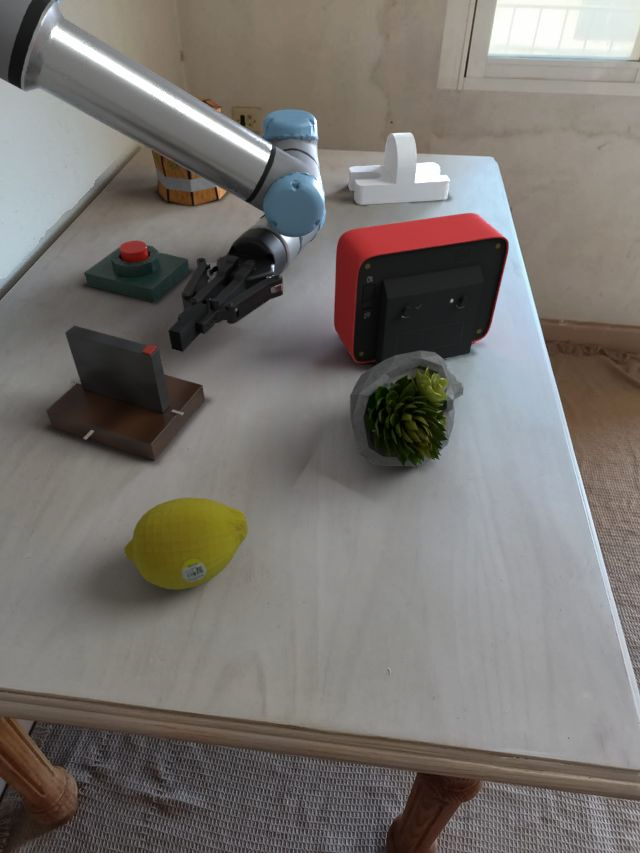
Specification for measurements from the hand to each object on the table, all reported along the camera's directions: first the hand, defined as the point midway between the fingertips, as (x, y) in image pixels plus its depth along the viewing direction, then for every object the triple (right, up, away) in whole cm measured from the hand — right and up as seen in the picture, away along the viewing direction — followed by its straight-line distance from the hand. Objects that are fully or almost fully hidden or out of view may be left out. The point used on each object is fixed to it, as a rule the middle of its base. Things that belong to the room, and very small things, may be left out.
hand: (175, 340), depth 73 cm
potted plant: (+26, -13, -2) cm, 29 cm away
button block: (-11, +13, +25) cm, 30 cm away
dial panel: (-6, -8, +2) cm, 10 cm away
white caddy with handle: (+32, +36, +50) cm, 69 cm away
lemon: (+5, -23, -14) cm, 28 cm away
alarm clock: (+29, +1, +13) cm, 32 cm away
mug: (-8, +38, +52) cm, 64 cm away
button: (-11, +16, +22) cm, 29 cm away
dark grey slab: (-6, -7, 0) cm, 9 cm away
